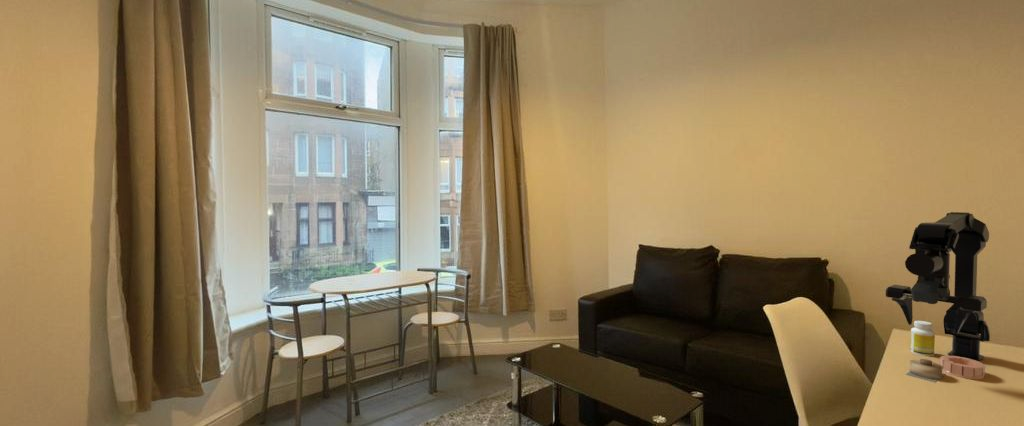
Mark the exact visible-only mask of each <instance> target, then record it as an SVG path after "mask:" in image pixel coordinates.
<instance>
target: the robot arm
mask: <svg viewBox="0 0 1024 426" xmlns="http://www.w3.org/2000/svg"><path fill="white" fill-rule="evenodd" d="M989 240H990V232H989V228H988V227H987V224H986V223H984V222H983V221H982V220H979V219H977V218H975V216H974V214H973V213H970V212H961V211H959V212H958V211H957V212H955V211H951V212H947V213H946V215H945V216H943V217H942V218H940V219H938V220H937V221H934V222H920V223H919V224H917V226H916V227H915V229H914V230H913V235H912V237H911V240H910V244H909V250H914V253H913V254H910V255H908V256H907V258H906V259H905V261H904V265H905V268H906V270H907V272H909V273H911V274H912V275H915V276H917V280H916V282H915V284H913V286H912V288H911V287H910V286H907V285H900V284H892V285H890V286H887V288H886V289H885V297H886V298H891V300H892V301H893V302H896V303H897V304H898V305H899V307H900V308H901V310H902V313H903V314H904V317H905V319H906V322H907V324H908V325H910V326H911V325H912V324H913V302H914V303H915V302H916V303H926V304H929V305H936V304H938V303H939V302H941V303H942V302H943V303H948V304H951V306H950V307H949V308H947V310H945V314H944V316H943V329H944V335H949V336H952V344H951V345H952V349H951V351H950V352H948V353H947V356H959V357H964V358H969V359H972V360H976V361H979V362H981V360H983V359H984V357H985V356H984V355H982V354H980V353H981V347H980V346H981V342H990V341H991V334H990V330H989V329H990V328H989V326H988V324H987V321H986V320H985V319H984V318H985V317H984V316H985V315H984V312H983V310H985V309H987V308H988V307H987V306H988V305H987V304H988V301H987V299H986V297H984V296H981V295H977V286H978V285H977V283H978V282H977V281H978V279H977V278H978V256H979V254H980V253H981V252H982V251H984V249H985V247H986V246H987V243H988V242H989ZM950 252H953V254H954V255H955V256H954V259H955V261H954V262H955V263H954V290H953V291H954V293H953V294H954V295H951V290H950V279H951V274H950V263H951V262H950V261H951V257H950V256H951V254H950Z"/></svg>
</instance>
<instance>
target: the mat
mask: <svg viewBox="0 0 1024 426" xmlns="http://www.w3.org/2000/svg"><path fill="white" fill-rule="evenodd" d="M946 375H947V373H945V372H942V378H943V377H944V376H946ZM905 376H909V377H913V378H916V379H921V380H924V381H928V382H932V383H936V382H937V381H939V380H940V379H928V378H923V377H920V376H917V375H914V374H912V373H911V372H910V371H908V372H907V373H905Z"/></svg>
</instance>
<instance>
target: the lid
mask: <svg viewBox="0 0 1024 426" xmlns="http://www.w3.org/2000/svg"><path fill="white" fill-rule="evenodd" d="M909 372H911V373H912V374H914V375H917V376H920V377H923V378H928V379H939V380H941V379H942V378H943V377H942V373H943V371H942V366H941V365H940V363H937V362H933V360H931V359H926V358H920V359H911V360H910V361H909Z"/></svg>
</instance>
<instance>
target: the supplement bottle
mask: <svg viewBox="0 0 1024 426" xmlns="http://www.w3.org/2000/svg"><path fill="white" fill-rule="evenodd" d="M913 325H914V326H913V327H912V328H910V345H909V347H910V348H909V352H910V353H913V354H915V355H919V356H925V357H933V356H935V341H936V340H935V337H936V335H935V334H936V333H935V332H934V331H933V330H932V327H933V323H931V322H929V321H926V320H925V321H923V320H914V322H913Z"/></svg>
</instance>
